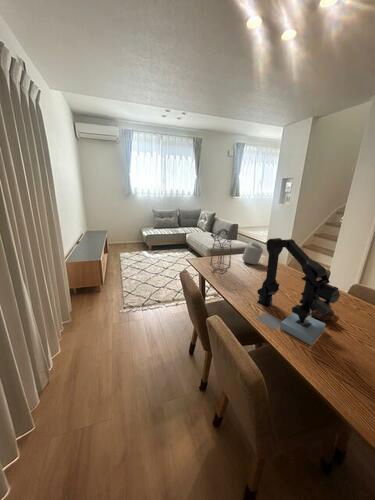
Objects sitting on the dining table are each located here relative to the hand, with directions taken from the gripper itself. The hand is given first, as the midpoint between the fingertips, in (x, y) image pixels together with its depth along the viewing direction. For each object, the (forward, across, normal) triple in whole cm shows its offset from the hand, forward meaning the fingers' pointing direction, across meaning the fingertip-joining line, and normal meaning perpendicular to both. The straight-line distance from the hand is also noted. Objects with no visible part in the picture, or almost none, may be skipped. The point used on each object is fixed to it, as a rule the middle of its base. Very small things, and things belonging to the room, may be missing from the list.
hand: (303, 321), depth 97 cm
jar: (+5, +61, +68) cm, 91 cm away
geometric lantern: (+5, +23, +73) cm, 77 cm away
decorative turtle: (+5, +18, -2) cm, 19 cm away
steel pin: (+3, 0, 0) cm, 3 cm away
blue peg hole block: (+5, 0, 0) cm, 5 cm away
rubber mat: (+5, -6, +13) cm, 15 cm away
